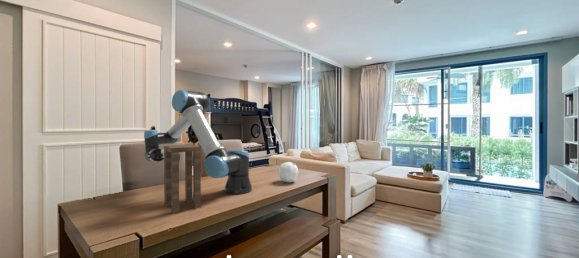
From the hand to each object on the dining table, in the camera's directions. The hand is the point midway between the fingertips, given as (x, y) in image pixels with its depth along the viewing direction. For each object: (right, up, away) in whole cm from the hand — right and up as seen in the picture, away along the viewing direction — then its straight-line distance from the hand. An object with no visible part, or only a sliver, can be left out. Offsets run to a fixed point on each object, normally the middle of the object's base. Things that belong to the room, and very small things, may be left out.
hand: (169, 154), depth 130 cm
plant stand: (+13, -22, -15) cm, 30 cm away
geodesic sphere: (+62, -21, +33) cm, 74 cm away
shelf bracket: (0, -4, +1) cm, 4 cm away
